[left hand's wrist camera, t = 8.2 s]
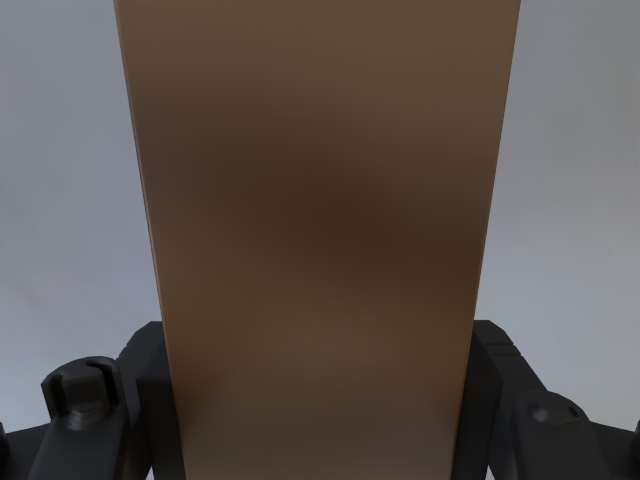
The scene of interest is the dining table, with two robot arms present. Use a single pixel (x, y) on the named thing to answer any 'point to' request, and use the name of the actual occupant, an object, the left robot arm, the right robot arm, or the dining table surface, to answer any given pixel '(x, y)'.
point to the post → (317, 222)
